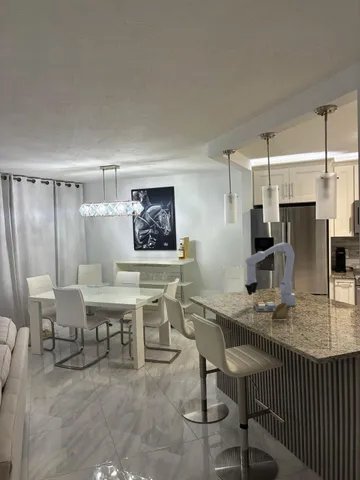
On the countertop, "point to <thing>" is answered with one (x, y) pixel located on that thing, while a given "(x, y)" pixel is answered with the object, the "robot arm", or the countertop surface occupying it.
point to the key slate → (271, 306)
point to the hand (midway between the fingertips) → (252, 293)
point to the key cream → (261, 306)
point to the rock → (280, 312)
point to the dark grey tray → (265, 309)
